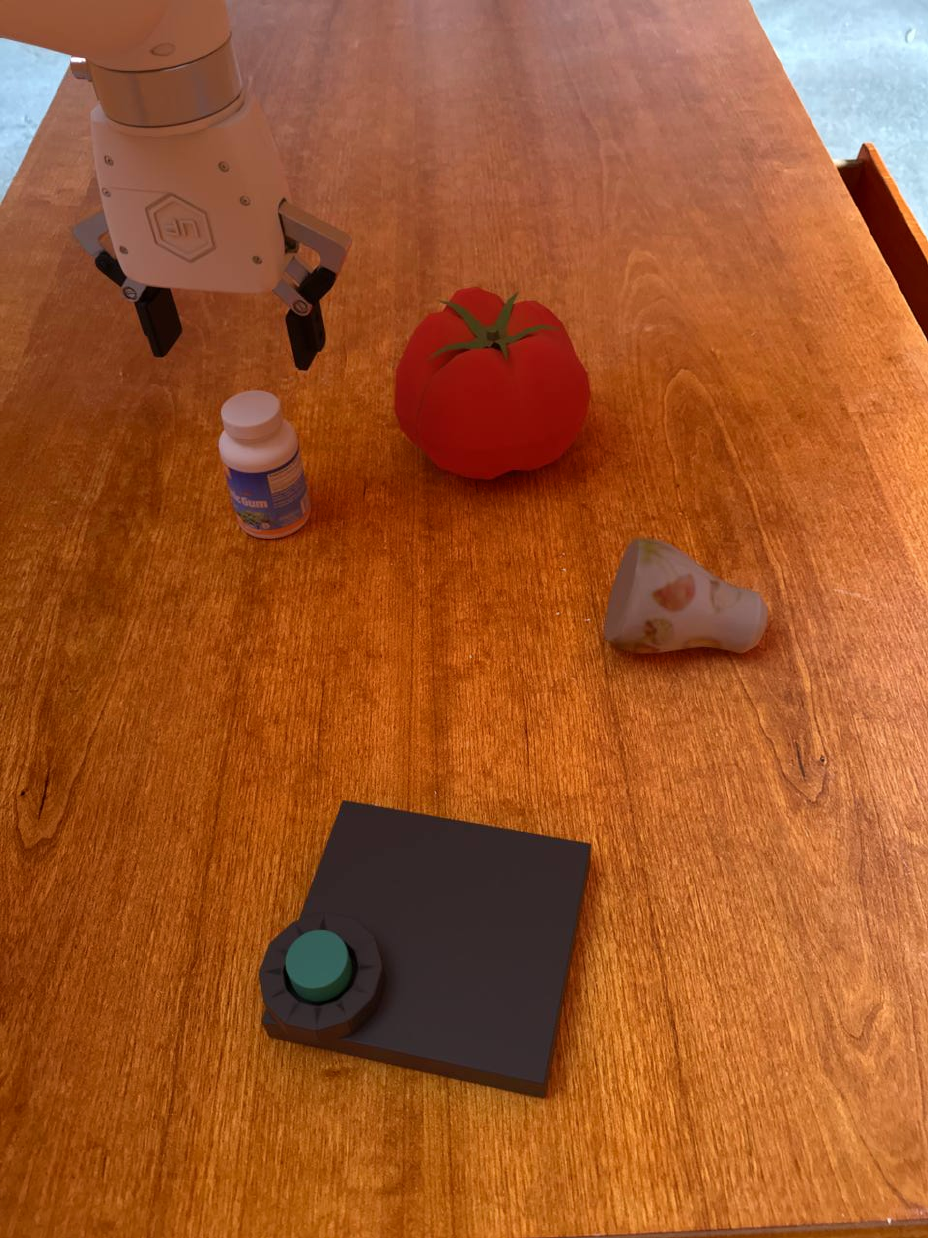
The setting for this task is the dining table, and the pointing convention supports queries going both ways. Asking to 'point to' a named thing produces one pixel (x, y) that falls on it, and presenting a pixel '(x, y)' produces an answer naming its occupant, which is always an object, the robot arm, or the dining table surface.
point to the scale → (438, 946)
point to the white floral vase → (678, 604)
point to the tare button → (318, 965)
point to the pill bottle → (263, 466)
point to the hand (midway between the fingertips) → (238, 351)
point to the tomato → (491, 386)
